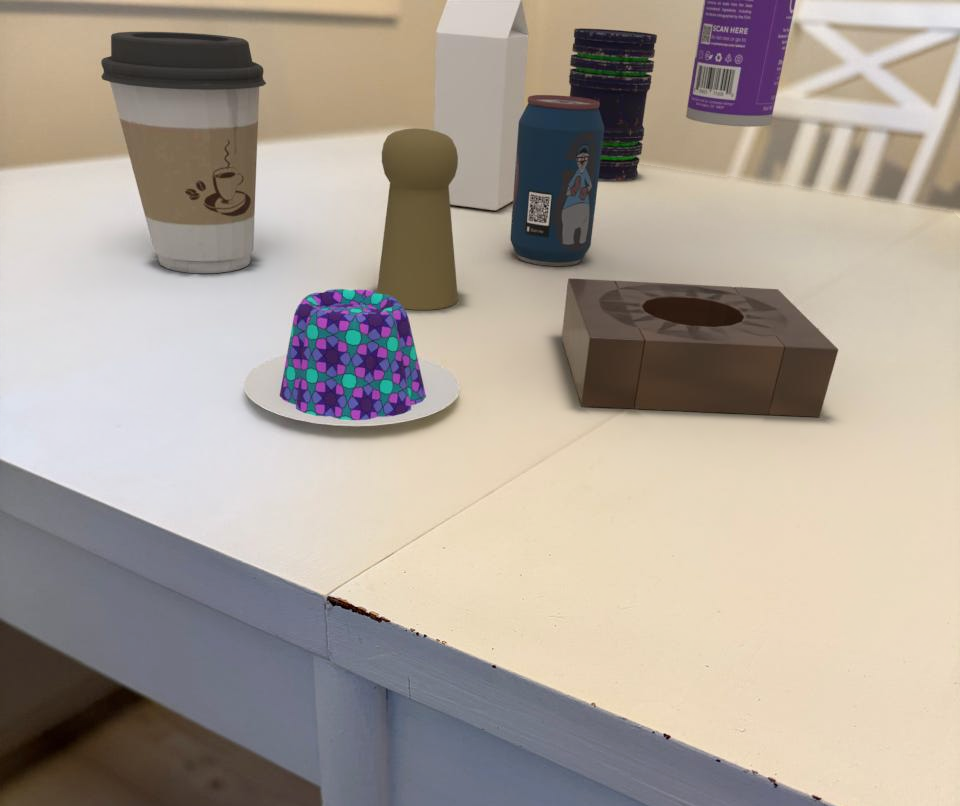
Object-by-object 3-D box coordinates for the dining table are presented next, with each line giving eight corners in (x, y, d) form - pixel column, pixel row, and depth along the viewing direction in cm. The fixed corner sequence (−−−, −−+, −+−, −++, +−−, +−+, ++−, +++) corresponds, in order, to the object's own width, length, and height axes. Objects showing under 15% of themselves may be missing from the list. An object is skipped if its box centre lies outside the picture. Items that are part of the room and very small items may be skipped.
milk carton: (496, 212, 95) (510, -15, 84) (431, 203, 97) (436, -21, 86) (516, 200, 101) (532, -15, 90) (454, 192, 103) (462, -20, 91)
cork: (467, 308, 68) (475, 138, 62) (385, 311, 66) (385, 136, 60) (446, 285, 73) (451, 124, 66) (369, 286, 71) (367, 122, 65)
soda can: (528, 244, 85) (540, 91, 78) (600, 256, 83) (619, 100, 76) (495, 259, 80) (506, 97, 73) (571, 272, 78) (589, 107, 71)
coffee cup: (183, 289, 68) (152, 44, 59) (101, 256, 74) (62, 29, 65) (307, 266, 75) (296, 44, 66) (223, 237, 81) (202, 30, 72)
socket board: (764, 349, 64) (778, 288, 62) (819, 417, 54) (839, 349, 52) (561, 339, 63) (568, 277, 61) (581, 406, 54) (589, 337, 51)
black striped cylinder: (544, 171, 116) (557, 28, 108) (583, 163, 123) (598, 28, 114) (615, 184, 112) (634, 36, 103) (651, 175, 119) (672, 35, 110)
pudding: (480, 375, 57) (485, 286, 54) (427, 453, 47) (429, 350, 44) (294, 349, 59) (289, 262, 56) (206, 420, 49) (194, 319, 46)
